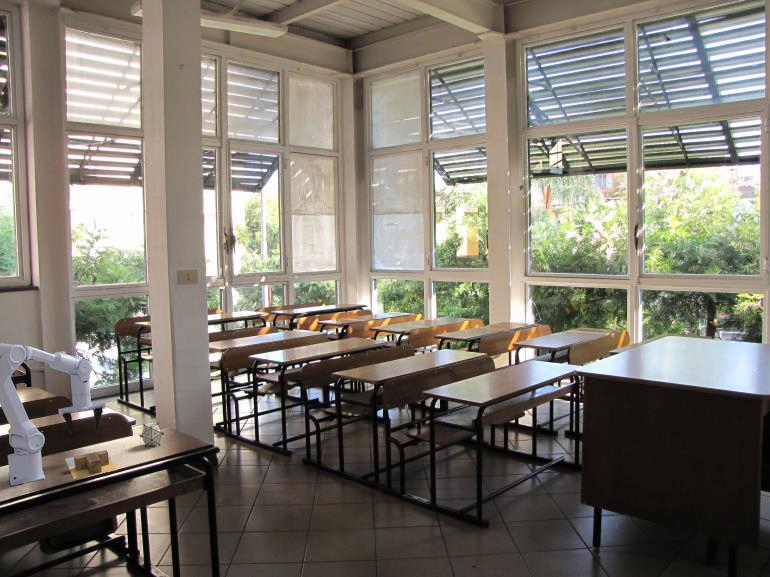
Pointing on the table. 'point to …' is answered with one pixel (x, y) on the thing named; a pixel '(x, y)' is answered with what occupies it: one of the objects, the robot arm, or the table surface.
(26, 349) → the robot arm
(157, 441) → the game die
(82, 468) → the T block
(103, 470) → the mat
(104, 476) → the table surface
